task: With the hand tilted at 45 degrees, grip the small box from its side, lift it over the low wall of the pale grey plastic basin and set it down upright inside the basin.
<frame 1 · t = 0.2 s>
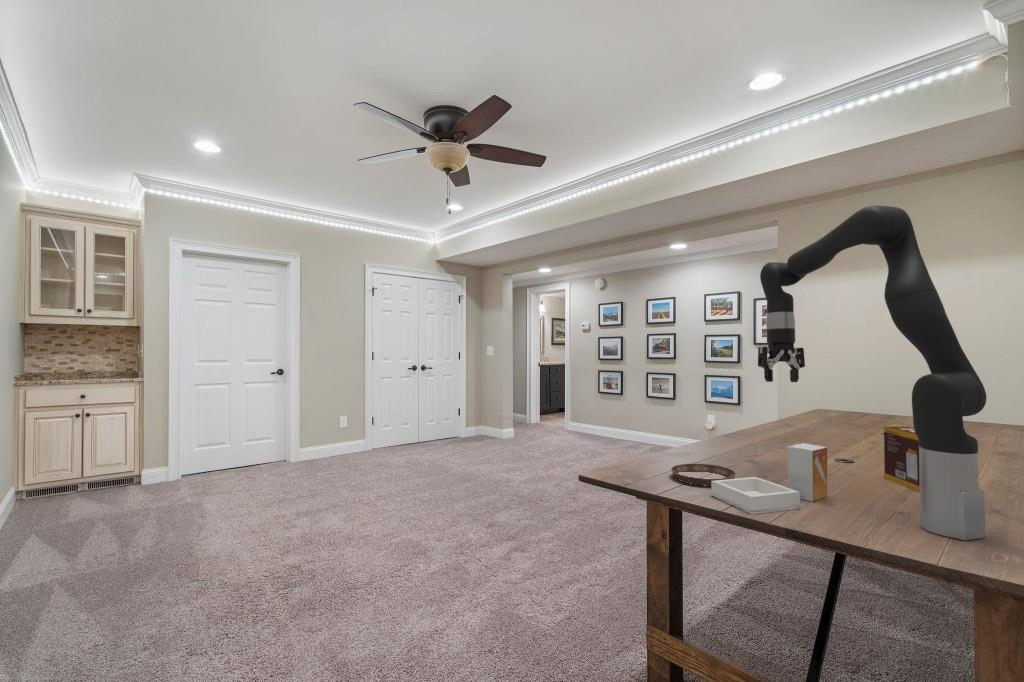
hand: (781, 381, 143), 29 cm above the table, tool pointing down, fingers open, 8 cm apart
small box: (807, 497, 124), on the table
supplement box: (921, 486, 134), on the table
brown round ring: (702, 481, 140), on the table
grey basin: (753, 502, 120), on the table
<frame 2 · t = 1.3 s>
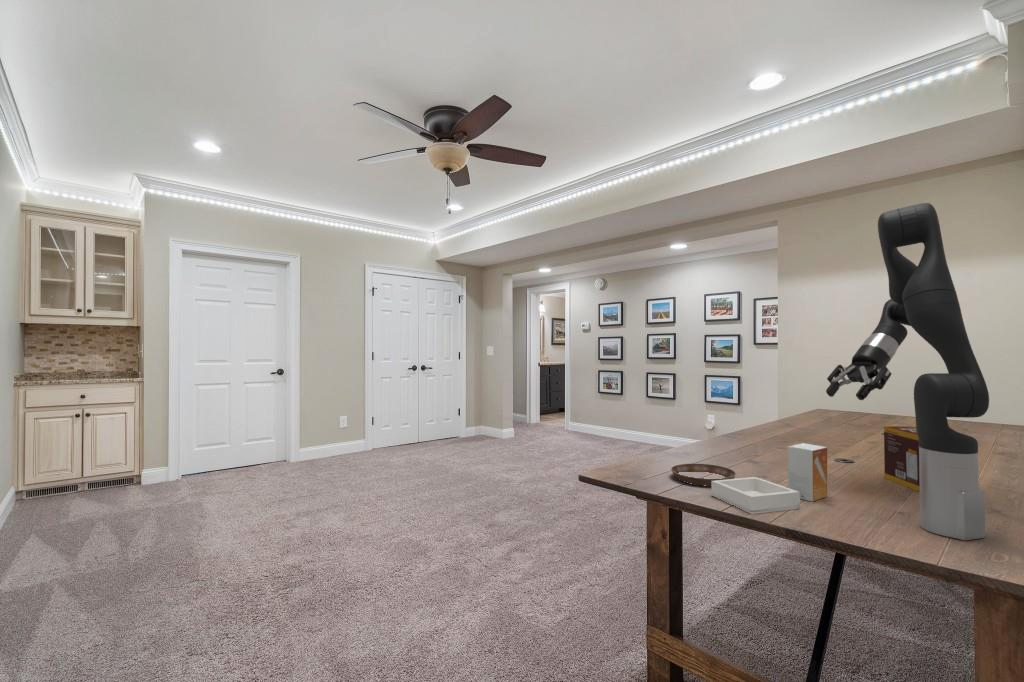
hand: (843, 396, 128), 26 cm above the table, tool tilted 45°, fingers open, 8 cm apart
nothing on the table moved.
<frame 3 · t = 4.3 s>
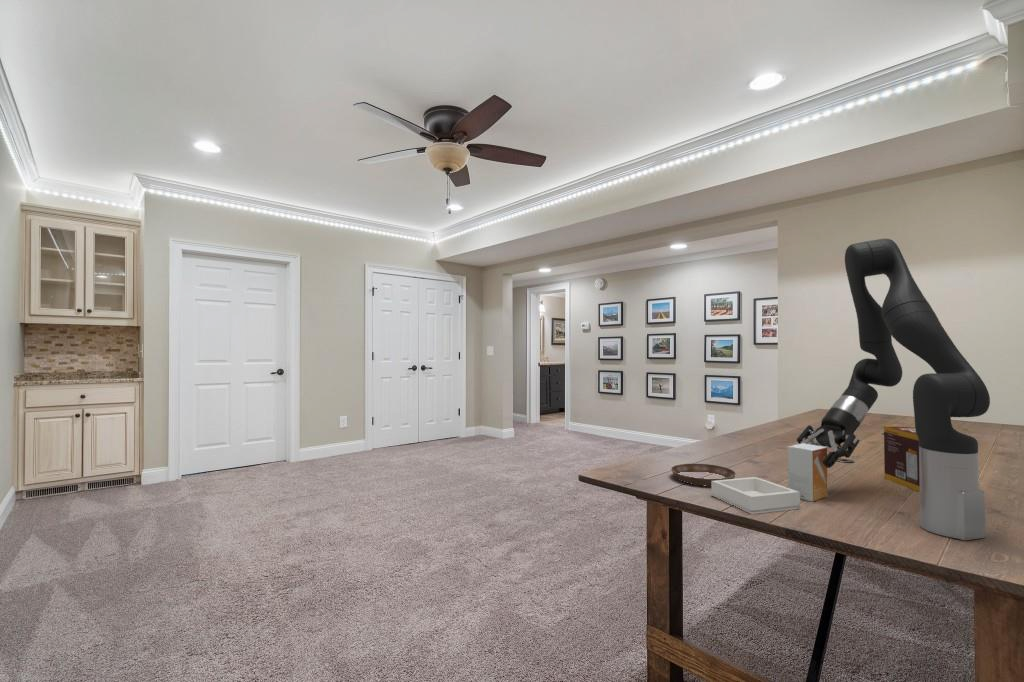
hand: (811, 461, 125), 9 cm above the table, tool tilted 45°, fingers open, 8 cm apart
nothing on the table moved.
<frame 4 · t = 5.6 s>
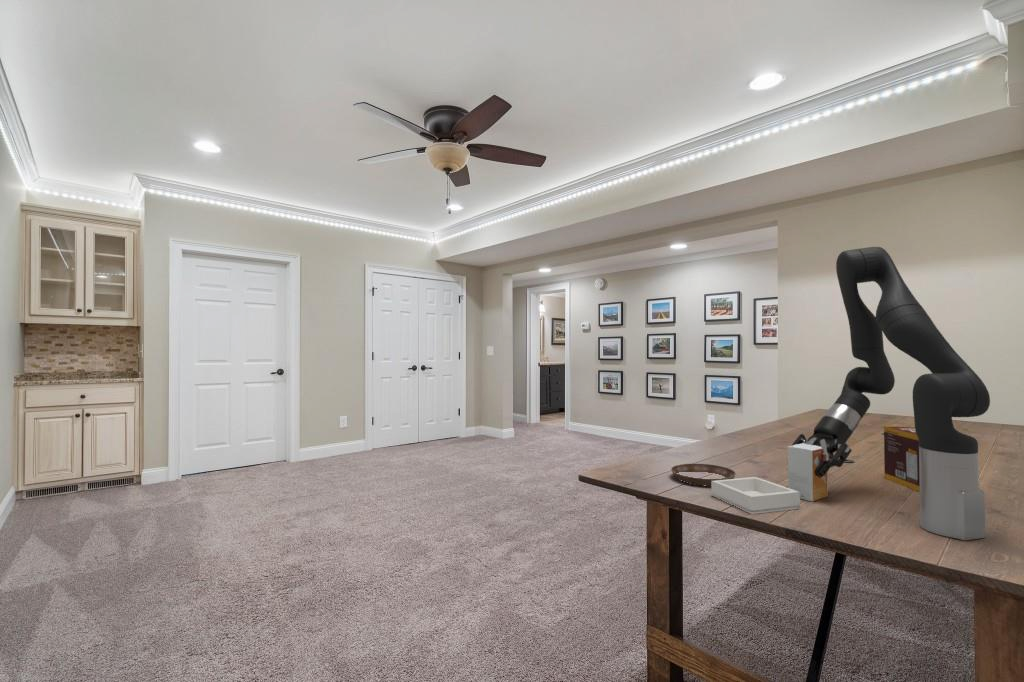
hand: (803, 471, 124), 7 cm above the table, tool tilted 45°, fingers closed on small box, 8 cm apart
small box: (807, 497, 124), on the table, touching gripper
everything else where it was.
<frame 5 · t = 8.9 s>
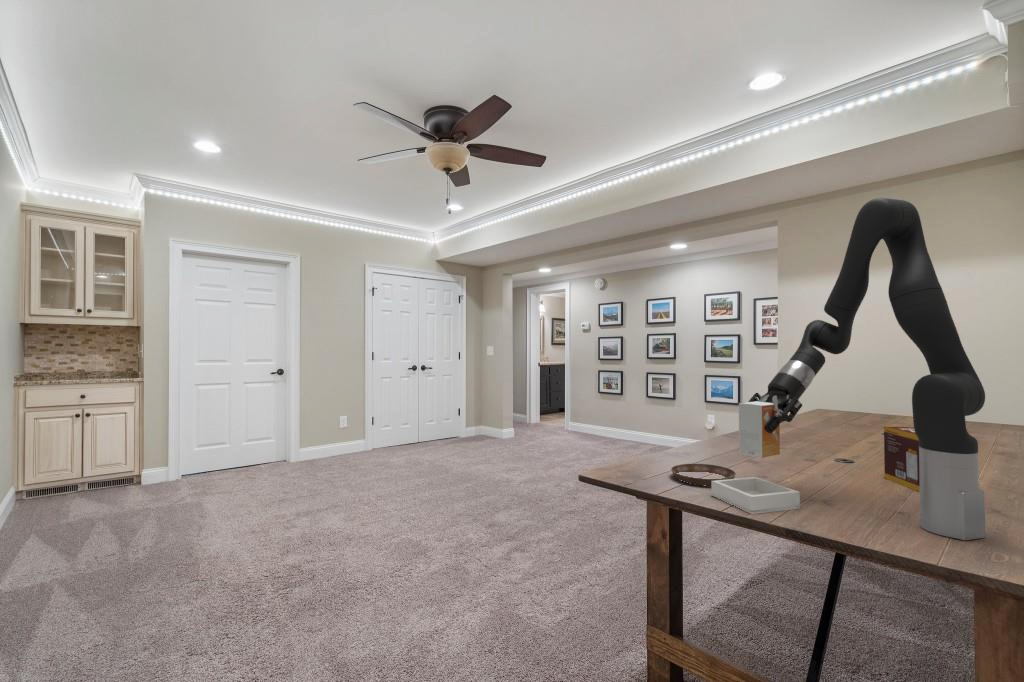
hand: (754, 428, 120), 18 cm above the table, tool tilted 45°, fingers closed on small box, 8 cm apart
small box: (759, 455, 121), point 12 cm above the table, touching gripper
everything else where it was.
when the fingers open (9 cm above the table, at t = 12.1 s): small box drops 1 cm, resting on grey basin.
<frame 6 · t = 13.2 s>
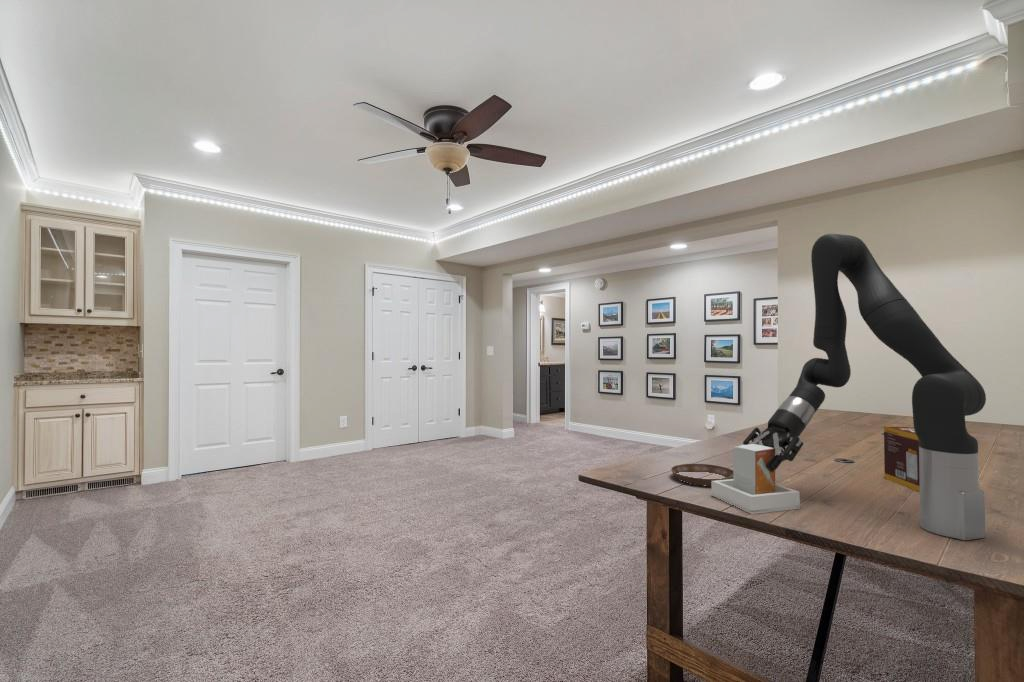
hand: (755, 465, 120), 9 cm above the table, tool tilted 45°, fingers open, 8 cm apart
small box: (754, 499, 120), point 1 cm above the table, touching grey basin, gripper
everything else where it was.
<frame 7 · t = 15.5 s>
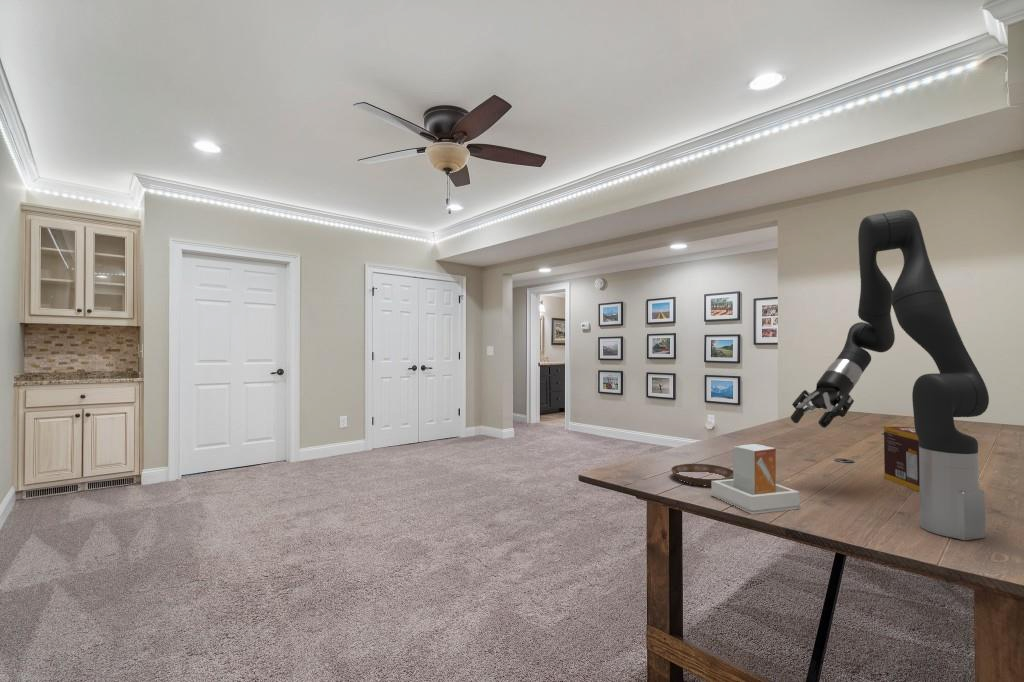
hand: (807, 423, 126), 19 cm above the table, tool tilted 45°, fingers open, 8 cm apart
small box: (754, 499, 120), point 1 cm above the table, touching grey basin
everything else where it was.
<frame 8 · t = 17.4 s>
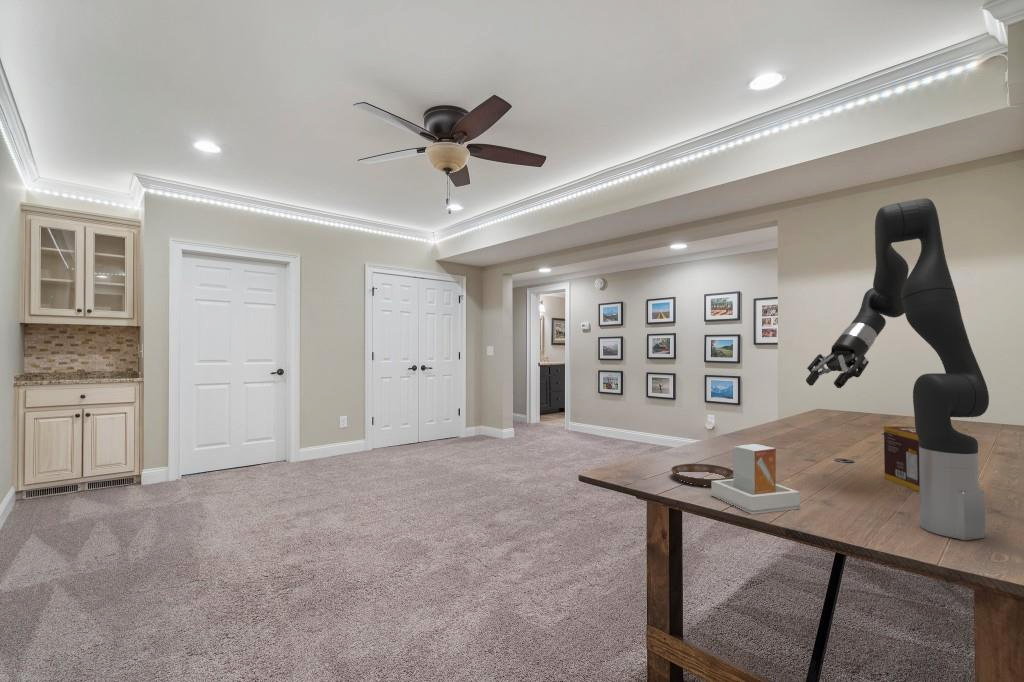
hand: (822, 384, 130), 29 cm above the table, tool tilted 45°, fingers open, 8 cm apart
nothing on the table moved.
at the end: small box inside the target area on the grey basin (0.3 cm from its centre), point 0.6 cm above the grey basin's base; small box tilted 0°; the gripper is holding nothing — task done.
